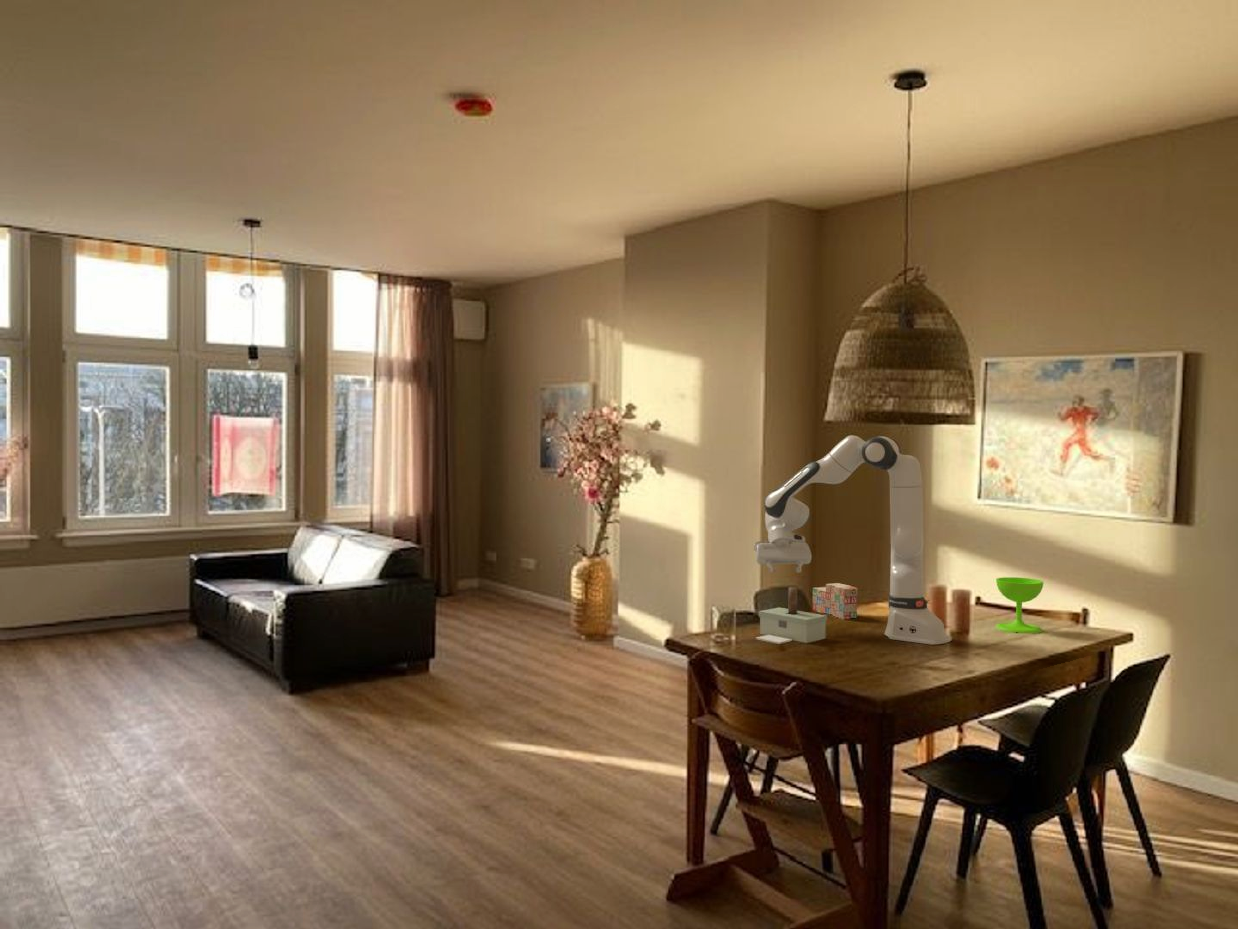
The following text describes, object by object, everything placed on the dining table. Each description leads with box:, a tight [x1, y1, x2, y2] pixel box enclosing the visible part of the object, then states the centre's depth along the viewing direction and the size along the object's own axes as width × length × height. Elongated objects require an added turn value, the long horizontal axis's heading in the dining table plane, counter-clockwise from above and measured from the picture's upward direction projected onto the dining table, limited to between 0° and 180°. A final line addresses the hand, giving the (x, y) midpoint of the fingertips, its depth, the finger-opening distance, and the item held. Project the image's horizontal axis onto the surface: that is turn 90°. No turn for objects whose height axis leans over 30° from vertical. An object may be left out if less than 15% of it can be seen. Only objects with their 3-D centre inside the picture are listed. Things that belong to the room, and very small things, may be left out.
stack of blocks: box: [812, 582, 858, 620], centre depth 362 cm, size 21×6×12 cm, turn 22°
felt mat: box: [755, 635, 793, 645], centre depth 313 cm, size 10×7×1 cm
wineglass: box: [995, 576, 1044, 634], centre depth 335 cm, size 16×16×18 cm
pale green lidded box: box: [758, 607, 828, 644], centre depth 320 cm, size 21×12×8 cm, turn 42°
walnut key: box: [787, 586, 798, 615], centre depth 320 cm, size 3×3×11 cm
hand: (786, 571), depth 331 cm, fingers open, 8 cm apart
